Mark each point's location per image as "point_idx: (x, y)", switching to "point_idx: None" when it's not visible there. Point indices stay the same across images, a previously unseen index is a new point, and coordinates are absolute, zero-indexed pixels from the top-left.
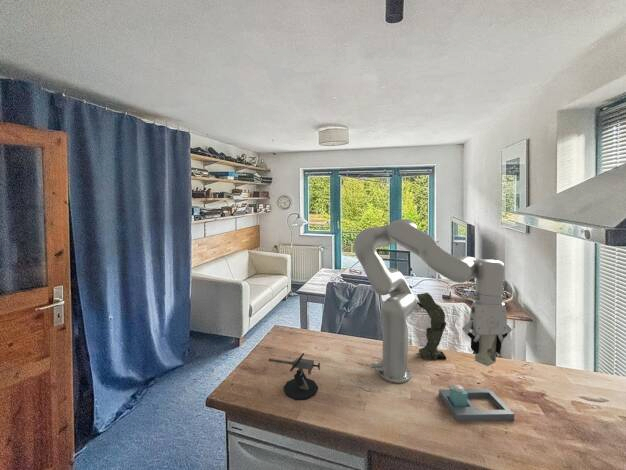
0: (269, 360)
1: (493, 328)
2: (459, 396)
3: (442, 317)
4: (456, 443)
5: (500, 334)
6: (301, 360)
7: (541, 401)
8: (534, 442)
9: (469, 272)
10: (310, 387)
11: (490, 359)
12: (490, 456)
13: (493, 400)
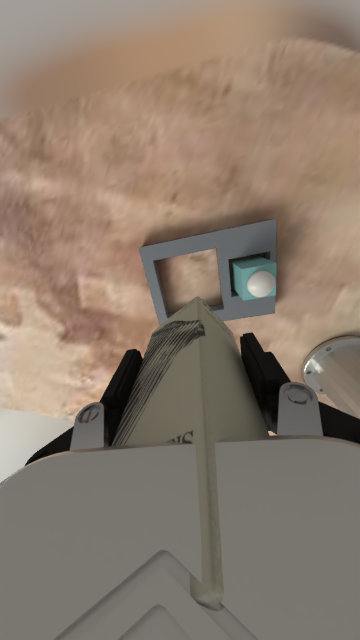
0: None
1: (139, 573)
2: (261, 264)
3: None
4: (312, 122)
5: (75, 452)
6: None
7: (71, 315)
8: (124, 171)
9: None
10: None
11: (182, 317)
12: (247, 83)
13: (163, 299)
